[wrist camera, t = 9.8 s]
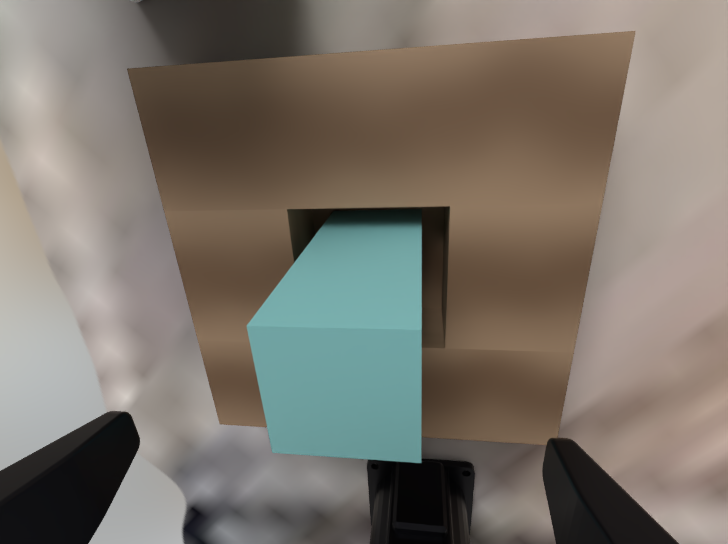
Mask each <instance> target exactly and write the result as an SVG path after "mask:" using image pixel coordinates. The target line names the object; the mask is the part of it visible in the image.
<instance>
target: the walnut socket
mask: <svg viewBox="0 0 728 544" xmlns="http://www.w3.org/2000/svg"><path fill="white" fill-rule="evenodd" d="M634 37H635V31H628V32H615V33H601V34H588V35H574V36H561V37H547V38H534V39H520V40H507V41H493V42H480V43H466V44H453V45H439V46H426V47H412V48H399V49H386V50H372V51H359V52H345V53H332V54H318V55H305V56H291V57H278V58H264V59H251V60H237V61H224V62H210V63H197V64H183V65H170V66H156V67H143V68H129V69H127V70H128V74H129V78H130V82H131V86H132V90H133V93H134V97H135V101H136V105H137V109H138V113H139V116H140V120H141V124H142V128H143V132H144V136H145V139H146V143H147V147H148V151H149V155H150V159H151V162H152V166H153V170H154V174H155V178H156V182H157V185H158V189H159V193H160V197H161V201H162V204H163V208H164V212H165V216H166V220H167V224H168V227H169V231H170V235H171V239H172V243H173V247H174V250H175V254H176V258H177V262H178V266H179V270H180V273H181V277H182V281H183V285H184V289H185V293H186V296H187V300H188V304H189V308H190V312H191V316H192V319H193V323H194V327H195V331H196V335H197V338H198V342H199V346H200V350H201V354H202V358H203V361H204V365H205V369H206V373H207V377H208V381H209V384H210V388H211V392H212V396H213V400H214V404H215V407H216V411H217V415H218V419H219V423H220V424H224V425H240V426H256V427H267V424H266V419H265V414H264V409H263V404H262V399H261V394H260V390H259V385H258V380H257V375H256V370H255V365H254V360H253V355H252V350H251V346H250V341H249V336H248V331H247V325H248V323H249V322H250V321H251V319H252V318H253V317H254V315H255V314H256V313H257V311H258V310H259V309H260V307H261V306H262V305H263V303H264V302H265V301H266V300H267V298H268V297H269V296H270V294H271V293H272V292H273V290H274V289H275V288H276V286H277V285H278V284H279V282H280V281H281V280H282V278H283V277H284V276H285V274H286V273H287V272H288V270H289V269H290V268H291V266H292V265H293V264H294V263H295V261H296V260H297V259H298V257H299V256H300V255H301V253H302V252H303V251H304V249H305V248H306V247H307V245H308V244H309V243H310V241H311V240H312V239H313V237H314V236H315V235H316V233H317V232H318V231H319V229H320V228H321V227H322V226H323V224H324V223H325V222H326V220H327V219H328V218H329V216H330V215H331V214H332V212H333V211H349V210H397V209H422V396H421V437H428V438H443V439H459V440H475V441H490V442H506V443H522V444H537V445H547V442H548V440H549V439H550V438H557V437H558V432H559V427H560V421H561V416H562V411H563V406H564V401H565V395H566V390H567V385H568V380H569V375H570V369H571V364H572V359H573V354H574V349H575V343H576V338H577V333H578V328H579V323H580V317H581V312H582V307H583V302H584V297H585V291H586V286H587V281H588V276H589V271H590V265H591V260H592V255H593V250H594V245H595V239H596V234H597V229H598V224H599V219H600V213H601V208H602V203H603V198H604V193H605V187H606V182H607V177H608V172H609V167H610V161H611V156H612V151H613V146H614V141H615V135H616V130H617V125H618V120H619V115H620V109H621V104H622V99H623V94H624V89H625V83H626V78H627V73H628V68H629V63H630V57H631V52H632V47H633V42H634Z"/></svg>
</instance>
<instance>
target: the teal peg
mask: <svg viewBox="0 0 728 544" xmlns="http://www.w3.org/2000/svg"><path fill="white" fill-rule="evenodd" d="M247 331H248V336H249V341H250V346H251V350H252V355H253V360H254V365H255V370H256V375H257V380H258V385H259V390H260V394H261V399H262V404H263V409H264V414H265V419H266V424H267V429H268V434H269V439H270V443H271V448H272V453H284V454H298V455H312V456H327V457H341V458H355V459H370V460H384V461H398V462H412V463H421V396H422V209H397V210H349V211H333V212H332V214H331V215H330V216H329V218H328V219H327V220H326V222H325V223H324V224H323V226H322V227H321V228H320V229H319V231H318V232H317V233H316V235H315V236H314V237H313V239H312V240H311V241H310V243H309V244H308V245H307V247H306V248H305V249H304V251H303V252H302V253H301V255H300V256H299V257H298V259H297V260H296V261H295V263H294V264H293V265H292V266H291V268H290V269H289V270H288V272H287V273H286V274H285V276H284V277H283V278H282V280H281V281H280V282H279V284H278V285H277V286H276V288H275V289H274V290H273V292H272V293H271V294H270V296H269V297H268V298H267V300H266V301H265V302H264V303H263V305H262V306H261V307H260V309H259V310H258V311H257V313H256V314H255V315H254V317H253V318H252V319H251V321H250V322H249V323H248V325H247Z"/></svg>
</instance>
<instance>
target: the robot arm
mask: <svg viewBox="0 0 728 544" xmlns="http://www.w3.org/2000/svg"><path fill="white" fill-rule="evenodd" d="M139 445H140V437H139V435H138V432H137V429H136V427H135V424H134V421H133V419H132V416H131V415H130V414H129V413H128V412H121V411H110V412H107V413H105V414H104V415H102V416H100V417H98V418H96V419H94V420H93V421H91V422H89V423H87V424H85V425H83V426H82V427H80V428H78V429H76V430H74V431H72V432H71V433H69V434H67V435H65V436H63V437H61V438H60V439H58V440H56V441H54V442H52V443H50V444H49V445H47V446H45V447H43V448H42V449H40V450H38V451H36V452H34V453H32V454H31V455H29V456H27V457H25V458H23V459H21V460H19V461H18V462H16V463H14V464H12V465H10V466H8V467H7V468H5V469H3V470H1V471H0V544H88V543H89V542H90V540H91V538H92V537H93V535H94V533H95V532H96V530H97V528H98V527H99V525H100V523H101V521H102V520H103V518H104V516H105V514H106V512H107V510H108V508H109V506H110V504H111V503H112V501H113V498H114V497H115V495H116V492H117V491H118V489H119V487H120V485H121V482H122V480H123V479H124V477H125V475H126V473H127V471H128V469H129V467H130V465H131V463H132V461H133V459H134V457H135V455H136V453H137V451H138V449H139ZM466 470H467V471H466ZM367 472H368V486H369V501H370V516H371V525H372V528H371V536H370V544H470V538H469V535H470V526H471V514H472V502H473V490H474V479H475V471H474V466H473V465H472V464H471V463H469V462H460V461H446V460H433V459H421V463H412V462H398V461H384V460H370V459H368V463H367ZM543 481H544V486H545V491H546V496H547V500H548V505H549V510H550V515H551V520H552V525H553V530H554V535H555V540H556V544H679V543H678V542H677V541H676V540H675V539H674V538H673V537H672V536H671V535H670V534H669V533H668V532H667V531H666V530H664V529H663V528H662V527H661V526H660V525H659V524H658V523H657V522H656V521H655V520H654V519H653V518H652V517H651V516H650V515H649V514H648V513H647V512H646V511H645V510H644V509H643V508H642V507H641V506H640V505H639V504H638V503H637V502H636V501H635V500H634V499H633V498H632V497H631V496H630V495H629V494H628V493H627V492H626V491H625V490H624V489H623V488H622V487H621V486H619V485H618V484H617V483H616V482H615V481H614V480H613V479H612V478H611V477H610V476H609V475H608V474H607V473H606V472H605V471H604V470H603V469H602V468H601V467H600V466H599V465H598V464H597V463H596V462H595V461H594V460H593V459H592V458H591V457H590V456H589V455H588V454H587V453H586V452H585V451H584V450H583V449H582V448H581V447H580V446H579V445H578V444H577V443H576V442H574V441H573V440H571V439H567V438H550V439H549V440H548V442H547V446H546V451H545V457H544V462H543Z"/></svg>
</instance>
